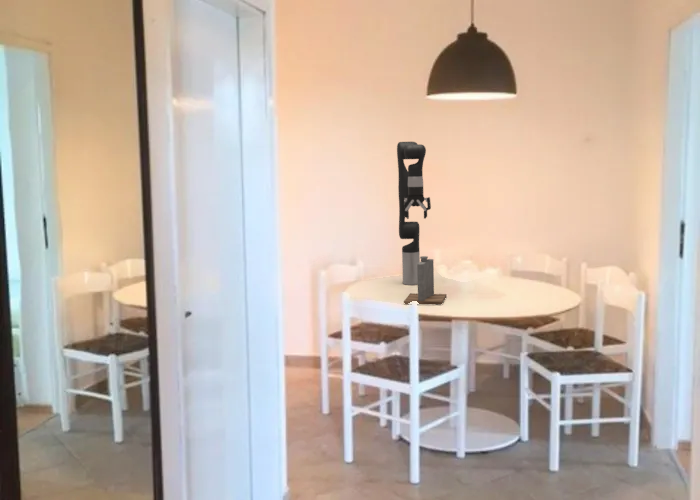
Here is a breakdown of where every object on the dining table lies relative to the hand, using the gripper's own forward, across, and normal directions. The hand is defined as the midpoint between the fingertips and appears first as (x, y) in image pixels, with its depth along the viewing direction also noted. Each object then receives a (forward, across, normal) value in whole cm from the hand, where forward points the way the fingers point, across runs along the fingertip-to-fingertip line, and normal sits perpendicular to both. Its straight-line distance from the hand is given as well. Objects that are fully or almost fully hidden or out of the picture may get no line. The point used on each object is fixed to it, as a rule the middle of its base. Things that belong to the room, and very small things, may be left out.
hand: (416, 218), depth 393 cm
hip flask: (+37, -6, +14) cm, 40 cm away
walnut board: (+38, -6, +14) cm, 41 cm away
